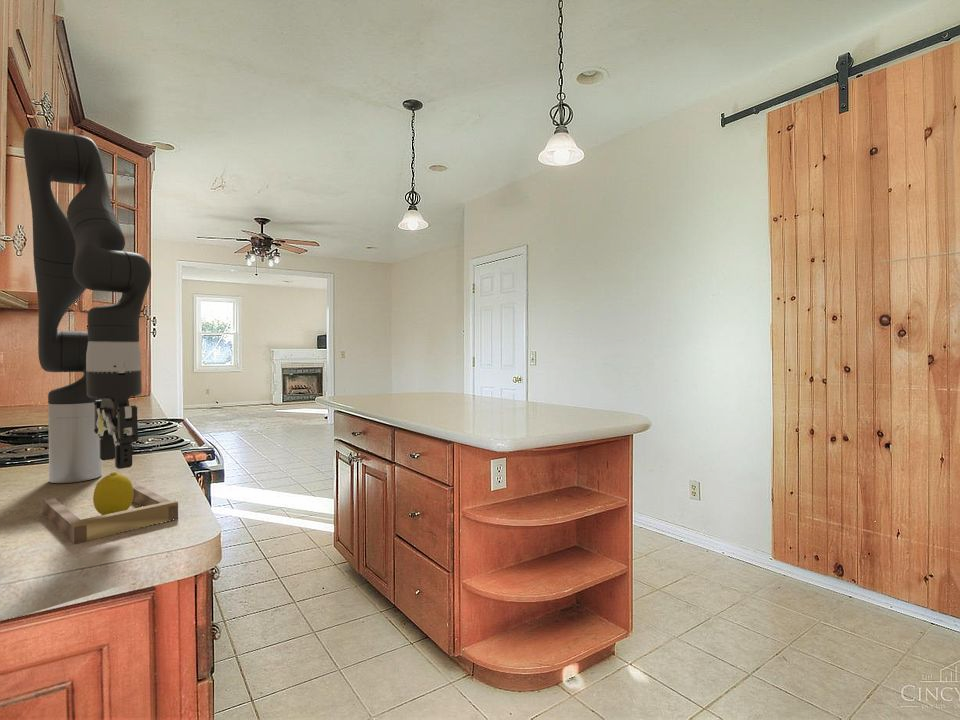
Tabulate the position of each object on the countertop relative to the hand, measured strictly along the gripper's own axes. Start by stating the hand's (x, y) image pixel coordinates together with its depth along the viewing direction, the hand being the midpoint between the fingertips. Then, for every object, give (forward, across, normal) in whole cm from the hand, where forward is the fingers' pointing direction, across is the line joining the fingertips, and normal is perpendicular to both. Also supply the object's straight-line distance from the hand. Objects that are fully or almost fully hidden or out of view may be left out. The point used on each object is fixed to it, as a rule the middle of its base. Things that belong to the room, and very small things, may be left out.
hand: (115, 463), depth 85 cm
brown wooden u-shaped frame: (+10, -2, 0) cm, 10 cm away
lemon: (+10, 0, 0) cm, 10 cm away
